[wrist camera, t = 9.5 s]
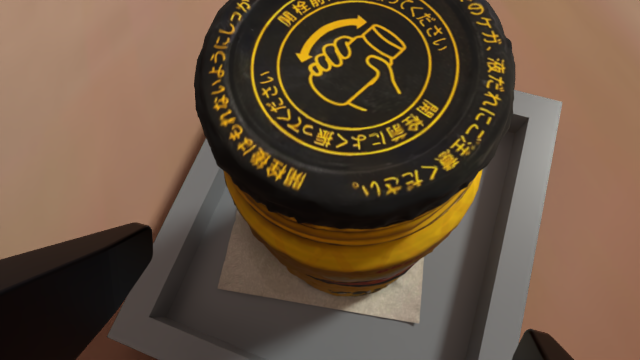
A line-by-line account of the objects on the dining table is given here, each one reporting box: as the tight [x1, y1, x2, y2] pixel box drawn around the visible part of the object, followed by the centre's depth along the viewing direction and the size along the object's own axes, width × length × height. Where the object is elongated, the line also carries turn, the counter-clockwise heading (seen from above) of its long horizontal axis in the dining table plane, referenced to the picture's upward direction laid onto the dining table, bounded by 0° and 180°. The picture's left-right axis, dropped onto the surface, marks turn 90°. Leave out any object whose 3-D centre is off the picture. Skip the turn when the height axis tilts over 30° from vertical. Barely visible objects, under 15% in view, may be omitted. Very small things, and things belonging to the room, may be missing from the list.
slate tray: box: [107, 90, 562, 360], centre depth 17 cm, size 15×14×2 cm
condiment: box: [194, 0, 515, 323], centre depth 12 cm, size 7×8×12 cm
